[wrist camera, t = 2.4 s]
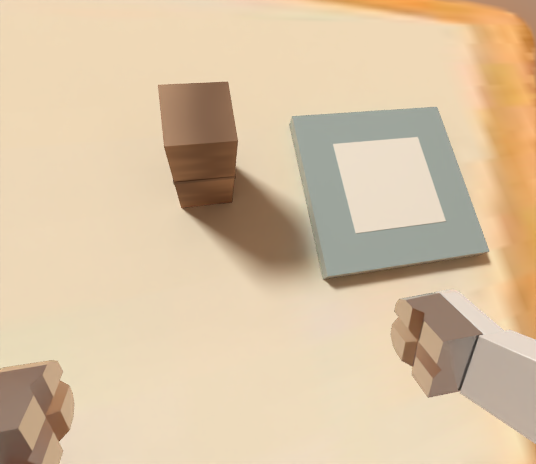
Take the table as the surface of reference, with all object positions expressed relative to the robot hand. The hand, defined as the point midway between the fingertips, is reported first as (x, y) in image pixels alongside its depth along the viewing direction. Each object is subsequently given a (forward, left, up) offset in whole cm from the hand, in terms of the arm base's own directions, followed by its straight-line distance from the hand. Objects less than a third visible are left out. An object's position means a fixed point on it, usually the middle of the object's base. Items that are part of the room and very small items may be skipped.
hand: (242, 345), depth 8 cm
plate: (+5, +18, -17) cm, 25 cm away
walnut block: (-8, +10, -17) cm, 21 cm away
